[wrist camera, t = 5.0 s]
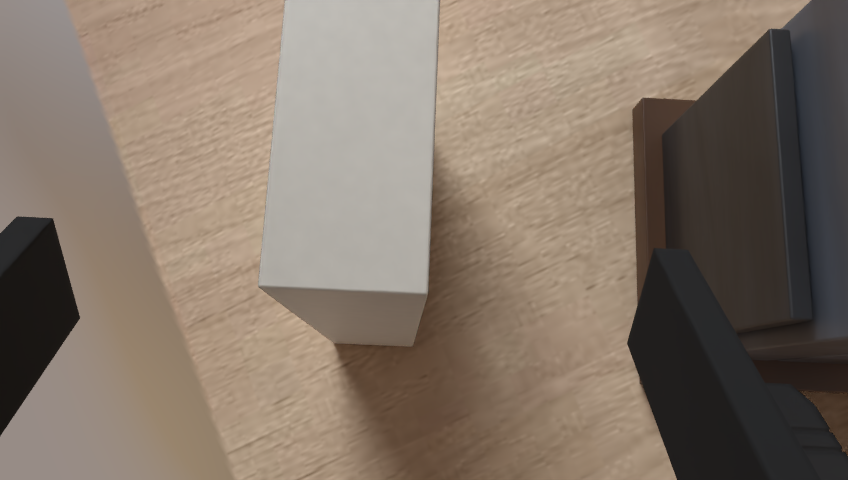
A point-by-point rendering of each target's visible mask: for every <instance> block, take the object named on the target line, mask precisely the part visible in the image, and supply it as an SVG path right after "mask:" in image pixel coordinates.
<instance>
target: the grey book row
mask: <svg viewBox="0 0 848 480" xmlns="http://www.w3.org/2000/svg"><path fill="white" fill-rule="evenodd" d="M633 143H634V181H635V218H636V256H637V294H638V303H639V299H640V296H641V292H642V288H643V285H644V281H645V278H646V274H647V270H648V267H649V263H650V260H651V256H652V252H653V249H654V248H663V249H683V250H688V251H689V252H690V254H691V256H692V257H693V259H694V261H695V263H696V264H697V266H698V268H699V270H700V271H701V273H702V275H703V276H704V278H705V280H706V282H707V283H708V285H709V287H710V289H711V290H712V292H713V294H714V296H715V297H716V299H717V301H718V302H719V304H720V306H721V308H722V309H723V311H724V313H725V315H726V316H727V318H728V320H729V321H730V323H731V325H732V327H733V328H734V330H735V332H736V334H737V335H738V337H739V339H740V341H741V342H742V344H743V346H744V347H745V349H746V351H747V353H748V354H749V356H750V358H751V360H752V361H753V363H754V365H755V366H756V368H757V370H758V372H759V373H760V375H761V377H762V379H763V380H764V382H765V383H781V384H791V385H792V386H794V387H795V388H796V389H797V390H798V391H808V392H832V393H848V0H811V1H810V2H809V3H808V4H807V5H806V6H805V7H804V8H803V9H802V10H801V11H800V12H799V13H797V14H796V15H795V16H794V17H793V18H792V19H791V20H790V21H789V22H788V23H787V24H786V25H785V26H784V27H783V28H782V29H769V30H768V31H767V32H766V33H765V34H764V35H763V36H762V37H761V38H760V39H759V40H758V41H757V42H756V43H755V44H754V45H753V46H752V47H751V48H750V49H749V50H748V51H746V52H745V53H744V54H743V55H742V56H741V57H740V58H739V59H738V60H737V61H736V62H735V63H734V64H733V65H732V66H731V67H730V68H729V69H728V70H727V71H726V72H725V73H724V74H723V75H722V76H721V77H720V78H719V79H718V80H717V81H716V82H715V83H714V84H713V85H712V86H711V87H710V88H709V89H708V90H707V91H706V92H705V93H704V94H703V95H702V96H701V97H700V98H699V99H698V100H697V101H694V100H675V99H656V98H642V99H641V100H640V101H639V103H638V104H637V105H636V106H635V107H634V109H633ZM640 384H642V382H641V379H640Z"/></svg>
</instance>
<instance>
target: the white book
mask: <svg viewBox="0 0 848 480" xmlns="http://www.w3.org/2000/svg"><path fill="white" fill-rule="evenodd" d="M439 15H440V0H285V4H284V15H283V26H282V36H281V47H280V57H279V68H278V79H277V89H276V100H275V111H274V121H273V132H272V142H271V153H270V164H269V174H268V185H267V196H266V206H265V217H264V227H263V238H262V249H261V259H260V270H259V281H258V286H259V288H260V289H262V290H263V291H264V292H266V293H267V294H268V295H270V296H271V297H272V298H274V299H275V300H276V301H278V302H279V303H280V304H282V305H283V306H285V307H286V308H287V309H289V310H290V311H291V312H293V313H294V314H295V315H297V316H298V317H299V318H301V319H302V320H303V321H305V322H306V323H307V324H309V325H310V326H311V327H313V328H314V329H315V330H317V331H318V332H319V333H321V334H322V335H323V336H325V337H326V338H327V339H329V340H330V341H332V342H333V343H339V344H362V345H385V346H408V347H412V346H413V344H414V341H415V338H416V334H417V331H418V327H419V324H420V320H421V317H422V313H423V310H424V306H425V303H426V299H427V296H428V291H429V266H430V241H431V216H432V190H433V165H434V140H435V115H436V90H437V65H438V40H439Z"/></svg>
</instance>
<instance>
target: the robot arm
mask: <svg viewBox="0 0 848 480" xmlns="http://www.w3.org/2000/svg"><path fill="white" fill-rule="evenodd" d="M79 319H80V316H79V312H78V309H77V305H76V302H75V298H74V294H73V290H72V287H71V283H70V280H69V276H68V272H67V269H66V265H65V261H64V257H63V254H62V250H61V246H60V243H59V239H58V236H57V232H56V228H55V225H54V221H53V219H52V218H36V217H16V218H15V219H14V220H13V221H12V222H11V223H10V224H9V225H8V226H7V227H6V228H5V229H4V230H3V231H2V232H1V233H0V435H1V434H2V432H3V431H4V429H5V428H6V427H7V425H8V424H9V422H10V421H11V419H12V418H13V416H14V415H15V413H16V412H17V410H18V409H19V407H20V406H21V404H22V403H23V402H24V400H25V399H26V397H27V396H28V394H29V393H30V391H31V390H32V388H33V387H34V385H35V384H36V382H37V381H38V379H39V378H40V376H41V375H42V373H43V372H44V370H45V369H46V368H47V366H48V364H49V363H50V361H51V360H52V358H53V357H54V356H55V354H56V353H57V351H58V350H59V348H60V347H61V345H62V344H63V342H64V341H65V339H66V338H67V336H68V335H69V333H70V332H71V331H72V329H73V328H74V326H75V325H76V323H77V322H78V320H79ZM627 344H628V347H629V349H630V352H631V355H632V358H633V360H634V363H635V366H636V368H637V371H638V374H639V377H640V379H641V382H642V385H643V388H644V390H645V393H646V396H647V399H648V401H649V404H650V407H651V409H652V412H653V415H654V418H655V420H656V423H657V426H658V429H659V431H660V434H661V437H662V440H663V442H664V445H665V448H666V450H667V453H668V456H669V459H670V461H671V464H672V467H673V470H674V472H675V475H676V478H677V480H848V456H847V455H846V453H845V452H842V450H841V448H842V447H841V445H840V444H839V442H838V441H837V439H836V438H835V436H834V434H833V433H830V432H829V429H830V428H829V427H828V425H827V423H826V422H825V420H824V419H823V417H822V416H821V414H820V412H819V411H818V409H817V408H816V406H815V405H814V404H813V403H812V402H811V401H810V400H808V399H807V398H806V397H805V396H804V395H803V394H802V393H800V392H799V391H798V390H797V389H796V388H795V387H794V386H792V385H791V384H781V383H765V382H764V380H763V379H762V377H761V375H760V373H759V372H758V370H757V368H756V366H755V365H754V363H753V361H752V360H751V358H750V356H749V354H748V353H747V351H746V349H745V347H744V346H743V344H742V342H741V341H740V339H739V337H738V335H737V334H736V332H735V330H734V328H733V327H732V325H731V323H730V321H729V320H728V318H727V316H726V315H725V313H724V311H723V309H722V308H721V306H720V304H719V302H718V301H717V299H716V297H715V296H714V294H713V292H712V290H711V289H710V287H709V285H708V283H707V282H706V280H705V278H704V276H703V275H702V273H701V271H700V270H699V268H698V266H697V264H696V263H695V261H694V259H693V257H692V256H691V254H690V252H689V251H688V250H683V249H663V248H654V249H653V252H652V256H651V260H650V263H649V267H648V270H647V274H646V278H645V281H644V285H643V288H642V292H641V296H640V299H639V303H638V306H637V310H636V314H635V317H634V321H633V324H632V328H631V331H630V335H629V339H628V342H627Z"/></svg>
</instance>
